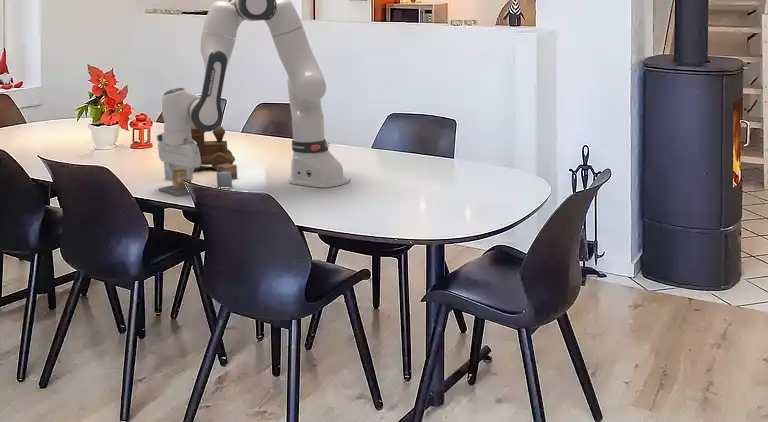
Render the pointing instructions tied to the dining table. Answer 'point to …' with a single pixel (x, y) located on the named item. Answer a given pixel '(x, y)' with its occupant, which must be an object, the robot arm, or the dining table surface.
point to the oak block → (179, 179)
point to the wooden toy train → (212, 148)
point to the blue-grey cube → (224, 179)
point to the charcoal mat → (174, 191)
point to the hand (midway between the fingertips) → (181, 177)
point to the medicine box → (167, 171)
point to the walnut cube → (228, 169)
